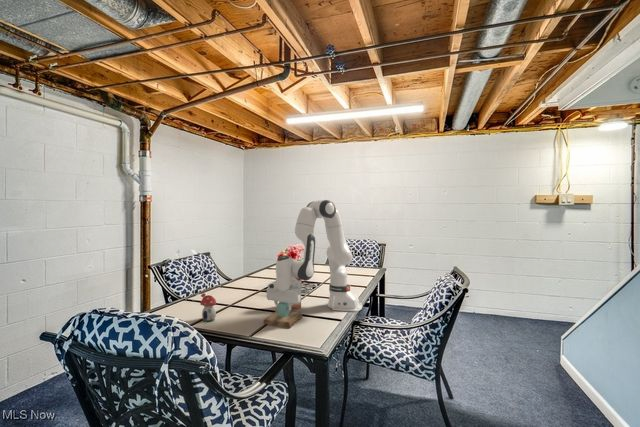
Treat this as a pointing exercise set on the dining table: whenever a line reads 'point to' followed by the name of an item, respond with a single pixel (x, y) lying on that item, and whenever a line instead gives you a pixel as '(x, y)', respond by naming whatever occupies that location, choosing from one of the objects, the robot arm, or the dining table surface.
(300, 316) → the base
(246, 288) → the dining table surface
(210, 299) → the decorative ornament
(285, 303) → the block
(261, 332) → the dining table surface
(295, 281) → the cracker box
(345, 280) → the robot arm
